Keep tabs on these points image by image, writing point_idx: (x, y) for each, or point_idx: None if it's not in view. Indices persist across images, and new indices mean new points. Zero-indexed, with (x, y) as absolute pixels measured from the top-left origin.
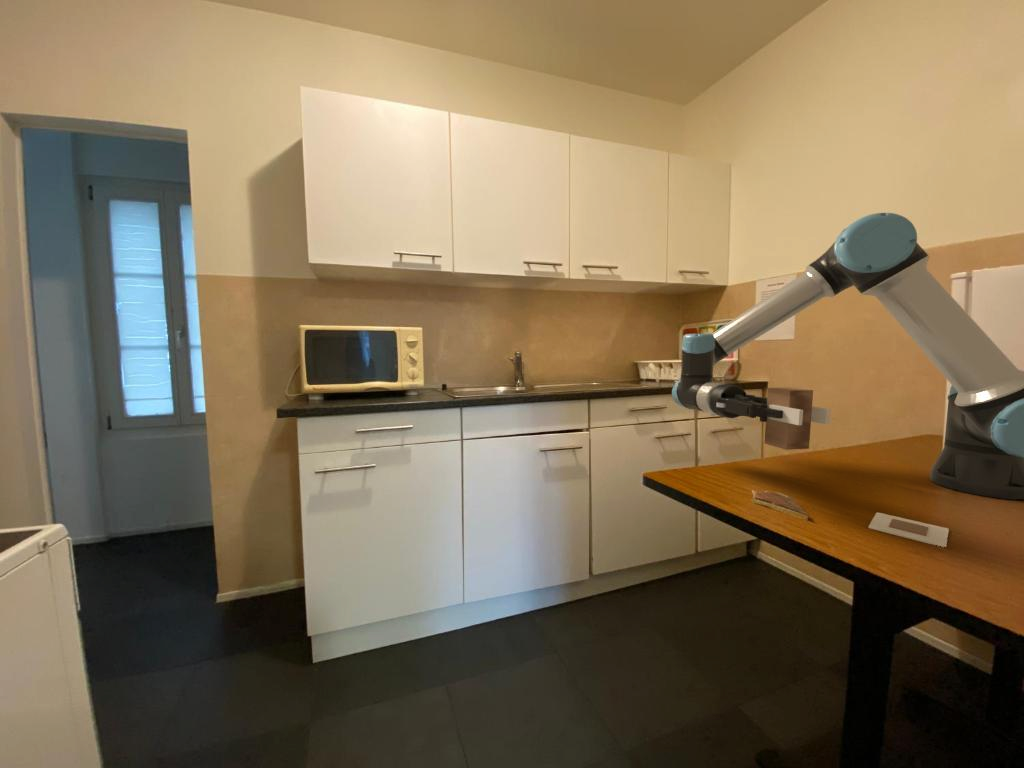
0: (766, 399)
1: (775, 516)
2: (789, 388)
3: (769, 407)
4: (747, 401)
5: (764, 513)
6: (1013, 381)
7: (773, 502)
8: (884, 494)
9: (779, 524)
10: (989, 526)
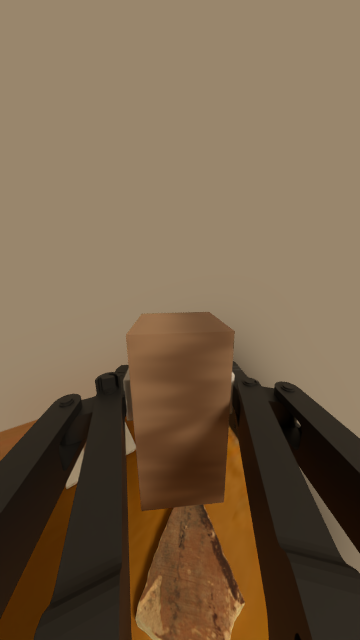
0: (61, 601)
1: (225, 501)
2: (166, 324)
3: (233, 381)
4: (309, 498)
5: (238, 518)
6: None
7: (209, 541)
8: None
9: (233, 471)
10: (9, 439)
